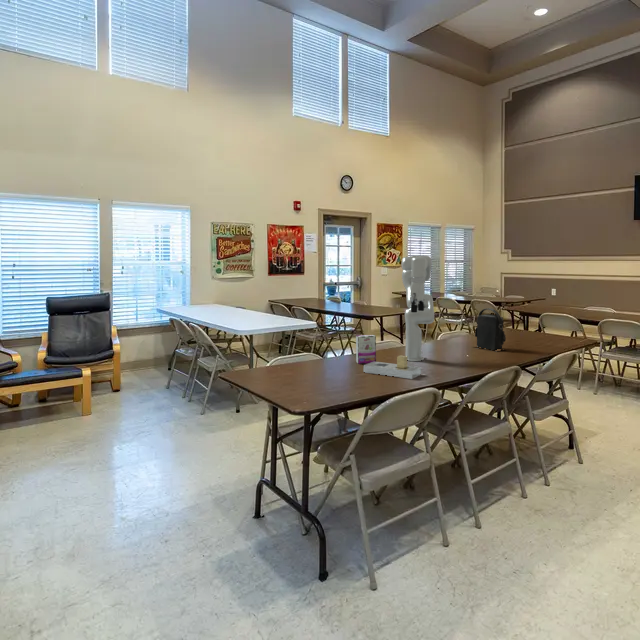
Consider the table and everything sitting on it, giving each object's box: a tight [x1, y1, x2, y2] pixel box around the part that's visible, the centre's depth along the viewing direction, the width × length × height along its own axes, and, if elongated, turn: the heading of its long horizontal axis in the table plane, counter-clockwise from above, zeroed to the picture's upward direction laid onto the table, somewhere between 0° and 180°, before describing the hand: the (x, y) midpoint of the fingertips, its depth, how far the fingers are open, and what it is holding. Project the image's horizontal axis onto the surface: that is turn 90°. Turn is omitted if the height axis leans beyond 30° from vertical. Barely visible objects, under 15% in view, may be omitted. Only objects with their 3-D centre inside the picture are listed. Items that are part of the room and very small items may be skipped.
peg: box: [396, 354, 408, 369], centre depth 249 cm, size 4×4×10 cm
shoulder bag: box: [474, 308, 507, 351], centre depth 322 cm, size 23×9×28 cm, turn 34°
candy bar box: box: [355, 334, 377, 365], centre depth 280 cm, size 11×5×16 cm, turn 101°
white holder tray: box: [363, 361, 422, 380], centre depth 253 cm, size 12×28×4 cm, turn 56°
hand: (417, 311), depth 259 cm, fingers open, 9 cm apart
